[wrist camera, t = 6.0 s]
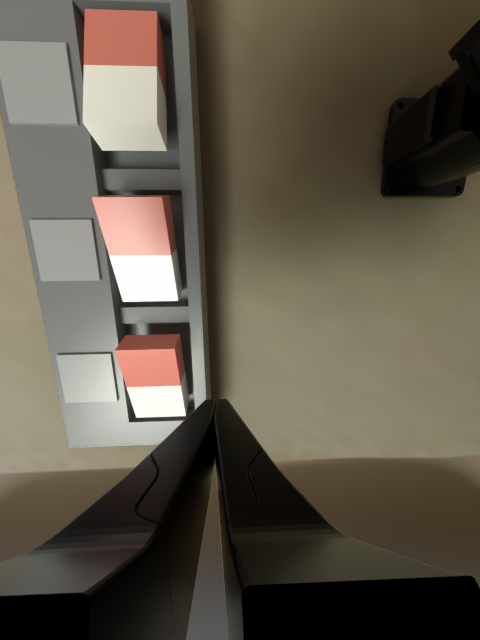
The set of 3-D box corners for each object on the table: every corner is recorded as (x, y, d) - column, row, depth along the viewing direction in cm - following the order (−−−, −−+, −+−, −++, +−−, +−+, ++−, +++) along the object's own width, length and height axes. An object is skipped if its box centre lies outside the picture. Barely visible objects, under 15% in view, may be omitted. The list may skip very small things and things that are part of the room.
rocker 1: (166, 52, 14) (156, 10, 12) (166, 151, 14) (156, 123, 12) (103, 50, 14) (84, 8, 12) (102, 150, 14) (82, 122, 12)
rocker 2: (169, 195, 14) (162, 197, 13) (182, 290, 17) (178, 300, 16) (106, 195, 14) (91, 197, 12) (132, 290, 17) (123, 301, 16)
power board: (195, 27, 16) (183, -53, 12) (211, 413, 22) (207, 444, 18) (29, 22, 15) (-40, -63, 11) (96, 417, 22) (67, 449, 18)
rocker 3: (179, 334, 16) (174, 349, 15) (189, 398, 19) (185, 415, 18) (125, 335, 16) (114, 350, 14) (144, 399, 19) (136, 417, 18)
